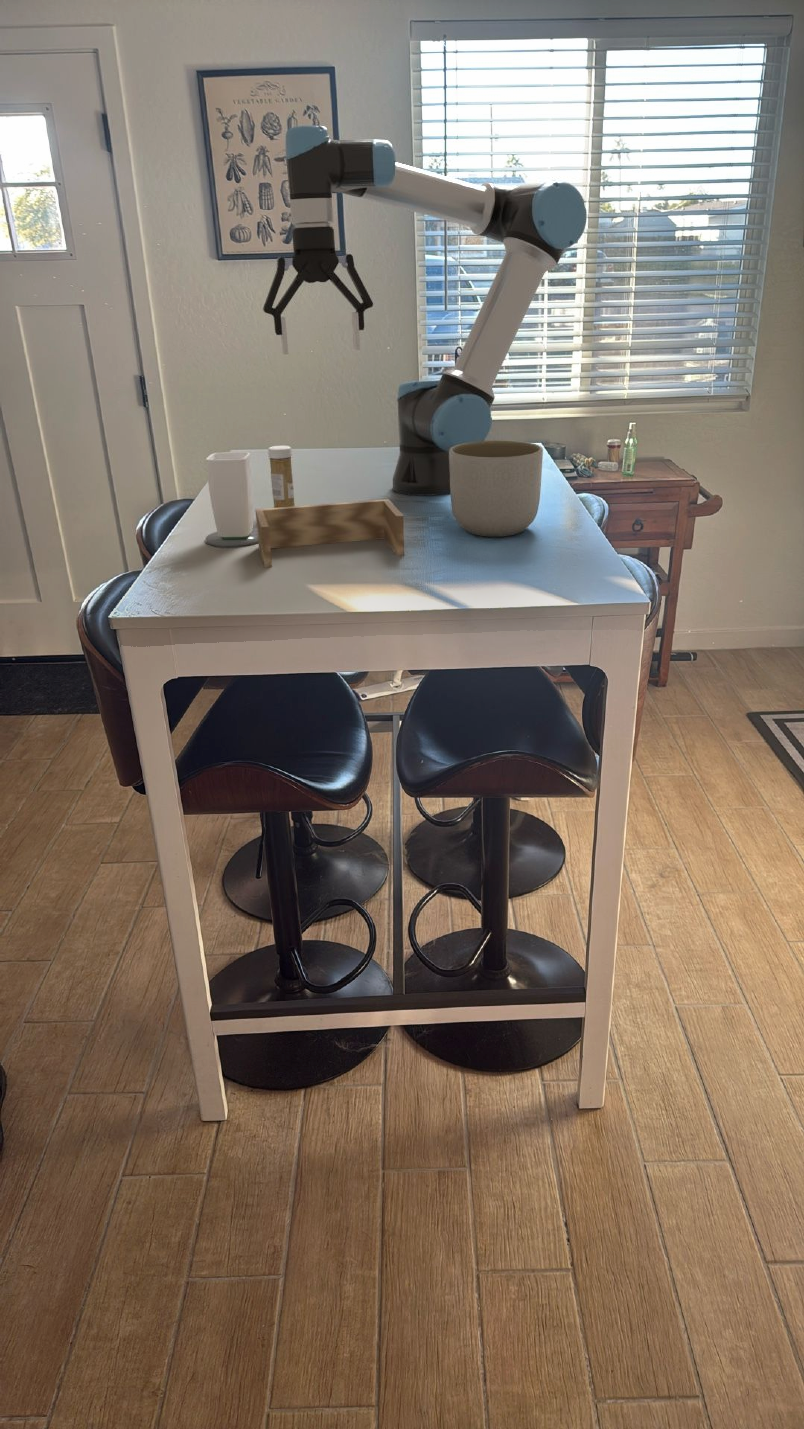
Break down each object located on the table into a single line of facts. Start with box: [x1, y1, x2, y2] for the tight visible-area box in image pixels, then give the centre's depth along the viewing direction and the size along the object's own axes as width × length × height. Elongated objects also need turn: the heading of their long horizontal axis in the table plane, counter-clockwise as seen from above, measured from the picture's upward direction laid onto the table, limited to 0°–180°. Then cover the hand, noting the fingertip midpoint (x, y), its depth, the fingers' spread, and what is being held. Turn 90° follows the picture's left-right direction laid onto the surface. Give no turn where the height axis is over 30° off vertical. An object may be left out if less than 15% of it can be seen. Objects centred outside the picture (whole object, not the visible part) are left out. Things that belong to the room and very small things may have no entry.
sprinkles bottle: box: [267, 445, 296, 508], centre depth 201 cm, size 5×5×13 cm
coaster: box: [205, 528, 259, 548], centre depth 187 cm, size 11×11×1 cm
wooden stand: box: [255, 498, 405, 568], centre depth 176 cm, size 24×13×7 cm, turn 102°
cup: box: [205, 451, 254, 539], centre depth 183 cm, size 7×7×15 cm
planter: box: [449, 439, 544, 538], centre depth 184 cm, size 17×17×15 cm
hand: (321, 351), depth 187 cm, fingers open, 13 cm apart
